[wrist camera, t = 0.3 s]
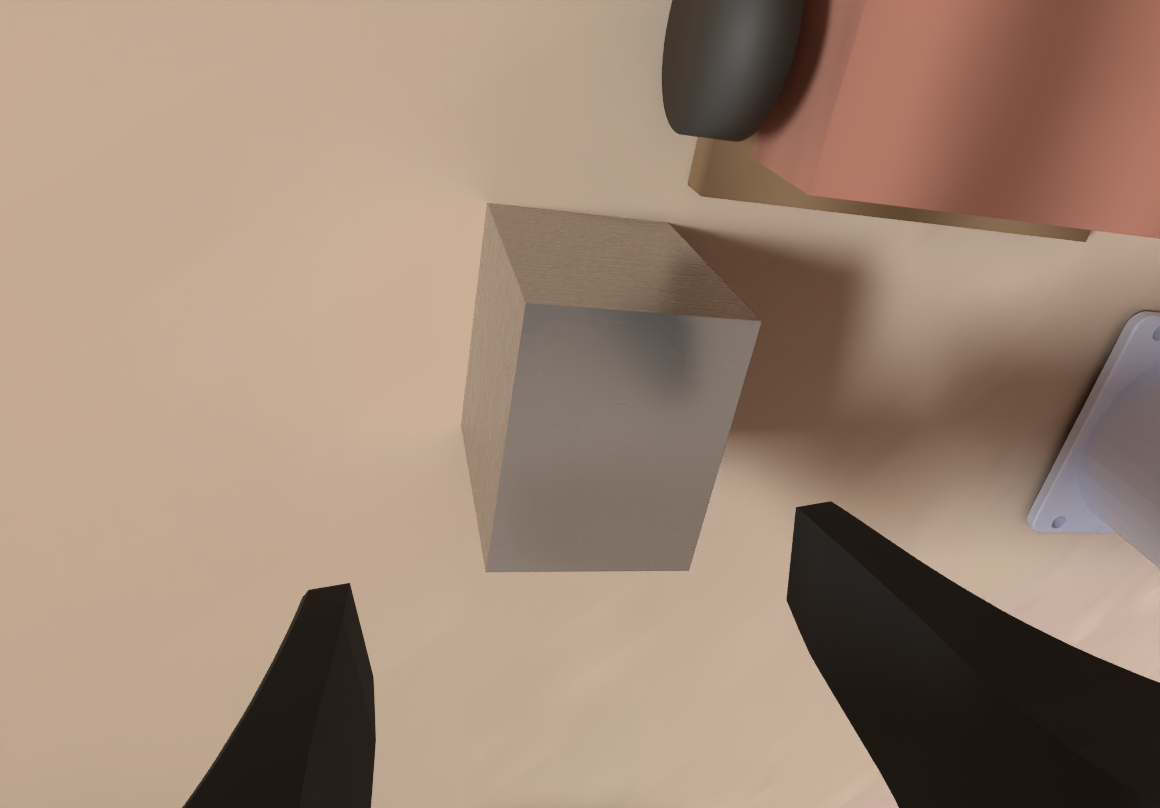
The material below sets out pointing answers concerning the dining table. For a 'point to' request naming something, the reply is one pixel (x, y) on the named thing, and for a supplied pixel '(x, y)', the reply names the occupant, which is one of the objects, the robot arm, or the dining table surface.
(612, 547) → the grey block
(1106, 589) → the dining table surface
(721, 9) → the chassis
